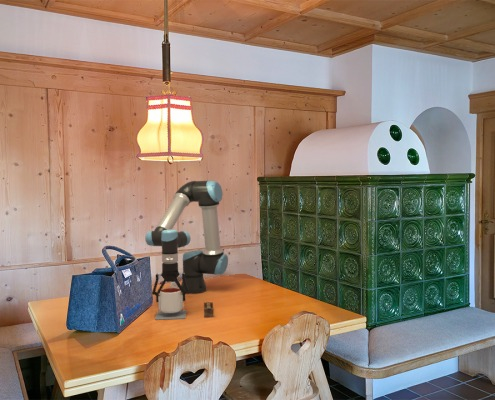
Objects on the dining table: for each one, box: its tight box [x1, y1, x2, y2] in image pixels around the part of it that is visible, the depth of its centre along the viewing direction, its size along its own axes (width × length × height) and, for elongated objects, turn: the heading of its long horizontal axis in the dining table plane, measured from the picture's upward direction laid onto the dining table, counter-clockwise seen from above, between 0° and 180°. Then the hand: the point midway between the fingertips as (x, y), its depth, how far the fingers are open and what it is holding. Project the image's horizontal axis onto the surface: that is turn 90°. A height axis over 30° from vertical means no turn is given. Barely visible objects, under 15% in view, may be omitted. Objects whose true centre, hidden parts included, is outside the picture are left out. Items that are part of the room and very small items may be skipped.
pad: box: [154, 309, 187, 321], centre depth 230 cm, size 14×14×1 cm
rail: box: [203, 301, 215, 318], centre depth 232 cm, size 12×4×4 cm, turn 6°
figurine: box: [168, 281, 184, 306], centre depth 249 cm, size 9×9×15 cm
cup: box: [159, 287, 182, 313], centre depth 229 cm, size 10×10×10 cm
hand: (171, 308), depth 230 cm, fingers closed on cup, 10 cm apart
